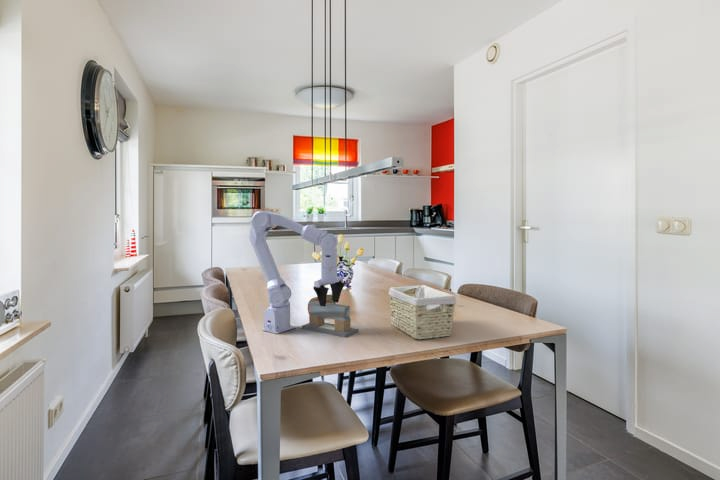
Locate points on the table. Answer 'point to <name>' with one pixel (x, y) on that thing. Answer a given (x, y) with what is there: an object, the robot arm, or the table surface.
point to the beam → (330, 310)
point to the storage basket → (422, 311)
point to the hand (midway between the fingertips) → (329, 304)
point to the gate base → (330, 326)
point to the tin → (328, 300)
